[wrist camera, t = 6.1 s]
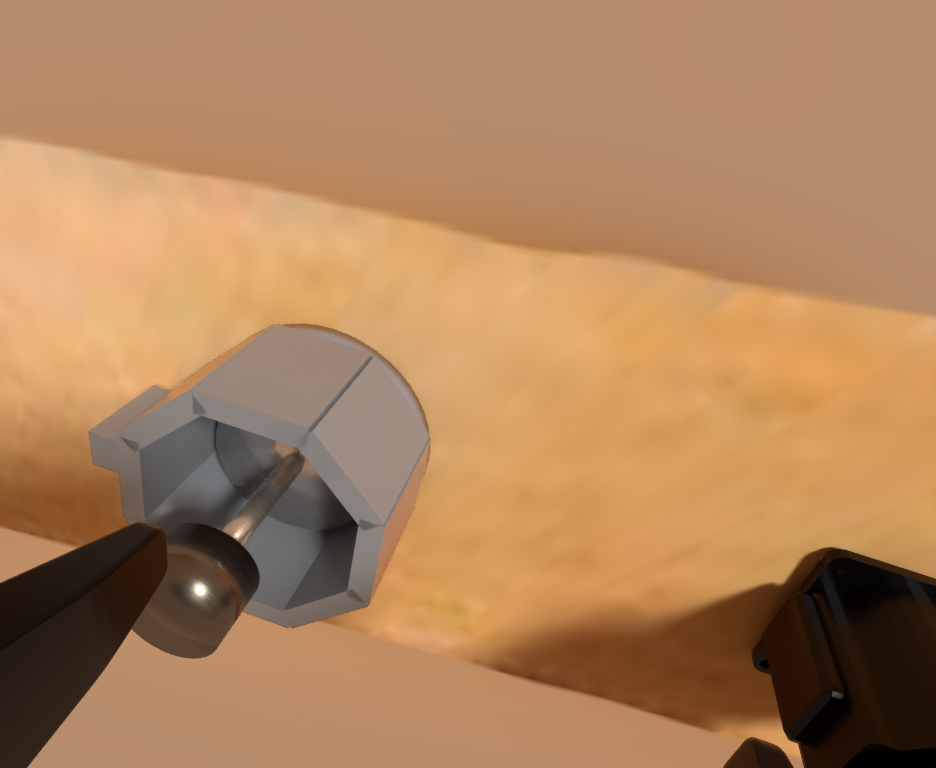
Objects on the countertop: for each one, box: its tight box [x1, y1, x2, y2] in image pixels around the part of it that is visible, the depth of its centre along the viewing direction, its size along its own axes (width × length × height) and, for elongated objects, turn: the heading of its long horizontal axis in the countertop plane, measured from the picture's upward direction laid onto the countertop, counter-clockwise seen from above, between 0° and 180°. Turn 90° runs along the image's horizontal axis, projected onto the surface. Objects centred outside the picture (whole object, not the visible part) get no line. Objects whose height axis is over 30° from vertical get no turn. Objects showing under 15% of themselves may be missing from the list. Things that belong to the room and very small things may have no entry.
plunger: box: [131, 422, 353, 658], centre depth 19 cm, size 6×6×8 cm
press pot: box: [89, 324, 431, 628], centre depth 22 cm, size 10×9×6 cm
